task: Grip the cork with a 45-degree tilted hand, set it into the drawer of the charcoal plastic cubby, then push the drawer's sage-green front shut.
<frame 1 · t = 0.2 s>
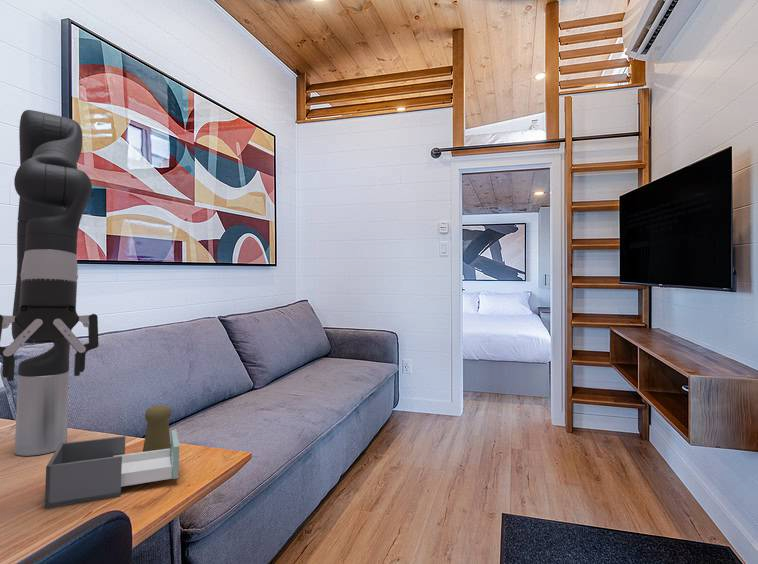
hand: (44, 378, 71), 22 cm above the table, tool pointing down, fingers open, 8 cm apart
drawer: (145, 456, 84), point 4 cm above the table, slide at 8.0 cm
cork: (156, 456, 96), on the table
cubby: (92, 487, 80), on the table
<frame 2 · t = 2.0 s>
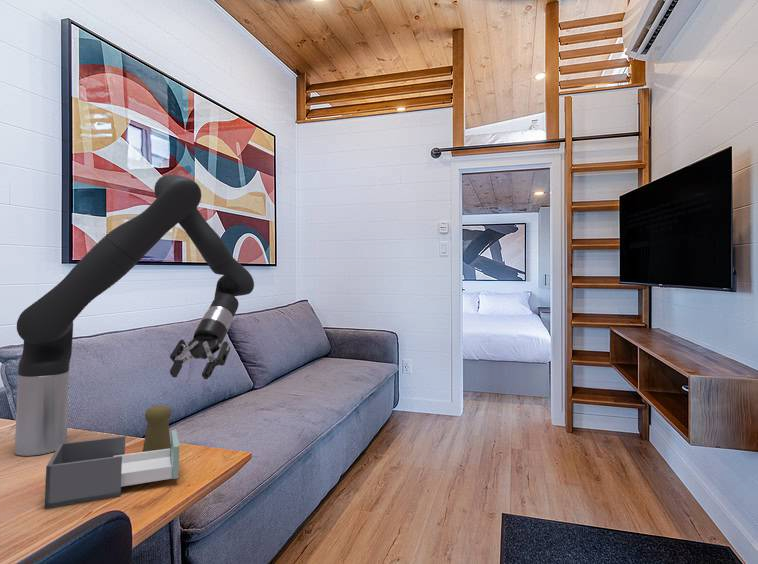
hand: (188, 376, 107), 16 cm above the table, tool tilted 45°, fingers open, 8 cm apart
nothing on the table moved.
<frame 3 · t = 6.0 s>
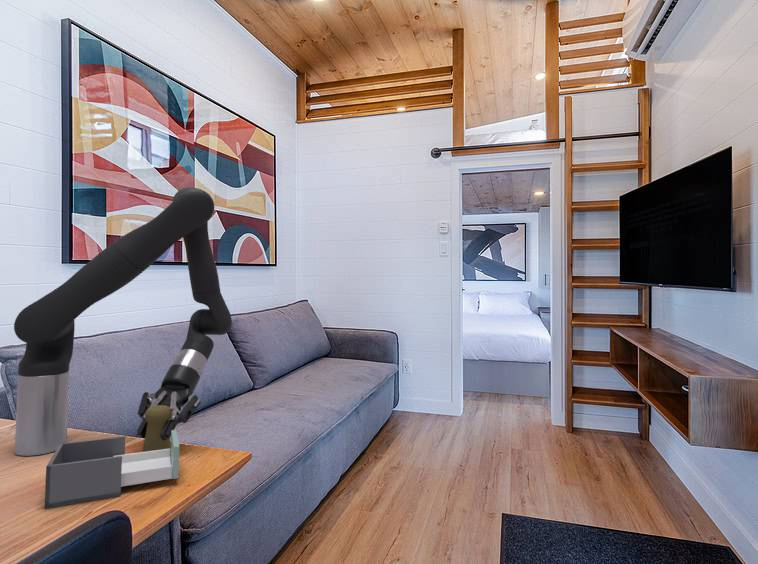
hand: (152, 437, 94), 5 cm above the table, tool tilted 45°, fingers closed on cork, 4 cm apart
cork: (156, 456, 96), on the table, touching gripper
everything else where it was.
when the fingers open (8 cm above the table, at t = 11.0 s): cork drops 1 cm, resting on drawer.
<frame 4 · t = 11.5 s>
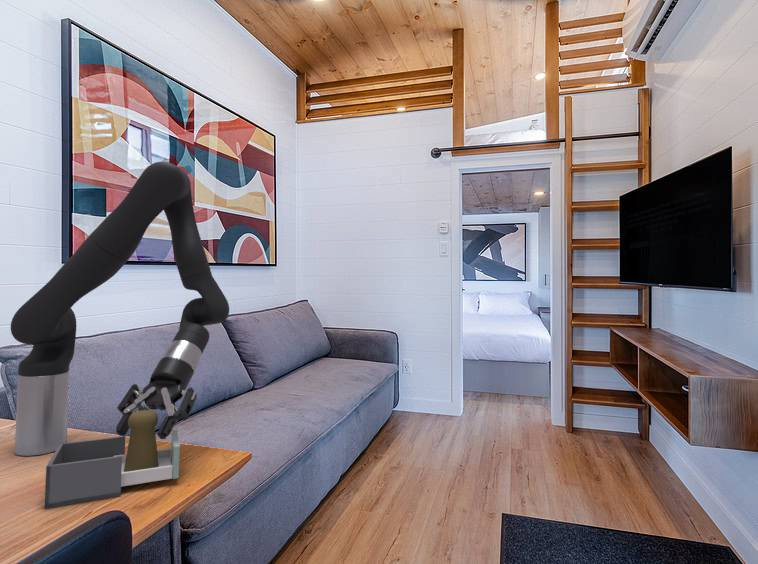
hand: (140, 435, 83), 9 cm above the table, tool tilted 45°, fingers open, 8 cm apart
drawer: (145, 456, 84), point 4 cm above the table, slide at 8.1 cm, touching cork
cork: (141, 468, 84), point 2 cm above the table, touching drawer
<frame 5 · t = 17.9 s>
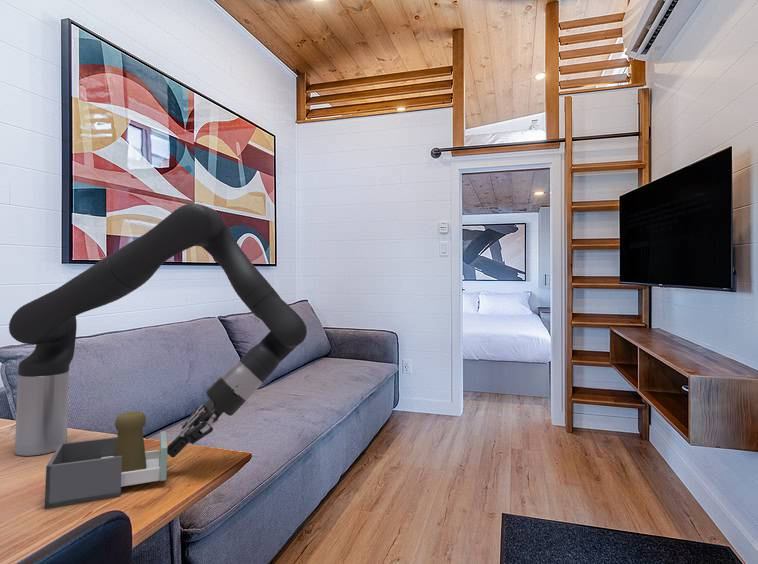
hand: (169, 453, 86), 4 cm above the table, tool tilted 45°, fingers closed
drawer: (133, 458, 83), point 4 cm above the table, slide at 5.9 cm, touching gripper, cork
cork: (128, 470, 83), point 2 cm above the table, touching drawer
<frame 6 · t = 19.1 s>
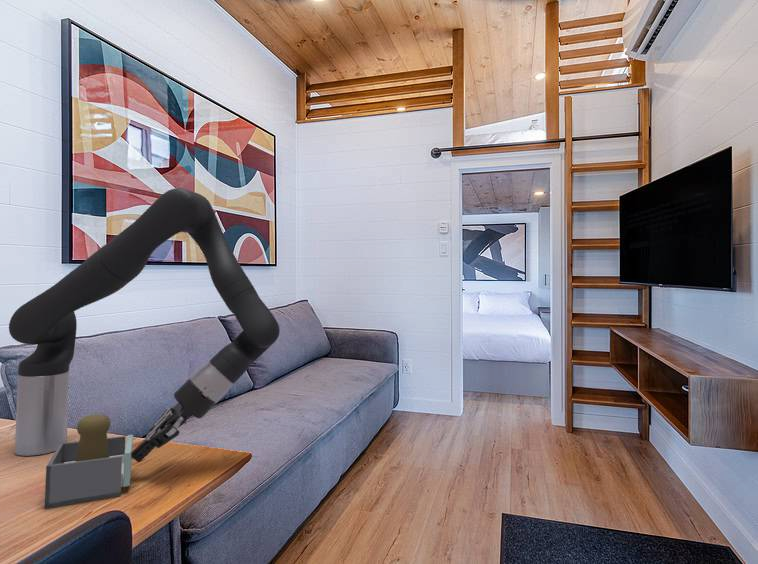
hand: (134, 458, 84), 4 cm above the table, tool tilted 45°, fingers closed
drawer: (96, 463, 81), point 4 cm above the table, slide at -0.1 cm, touching gripper, cork
cork: (91, 476, 81), point 2 cm above the table, touching drawer
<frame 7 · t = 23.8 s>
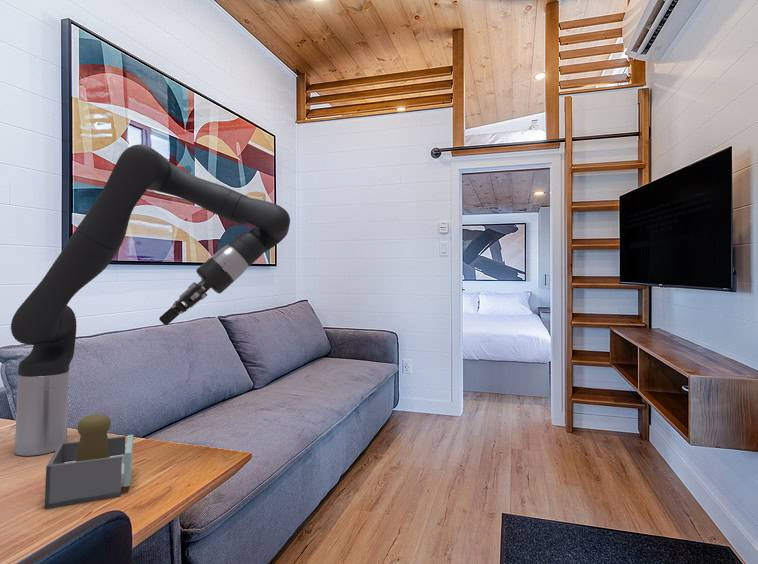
hand: (162, 322, 94), 30 cm above the table, tool tilted 45°, fingers closed
drawer: (96, 463, 81), point 4 cm above the table, slide at 0.0 cm, touching cork
everything else where it was.
at the end: drawer slide at 0.0 cm; cork inside the target area on the cubby (0.4 cm from its centre), point 1.9 cm above the cubby's base; cork tilted 0° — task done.
